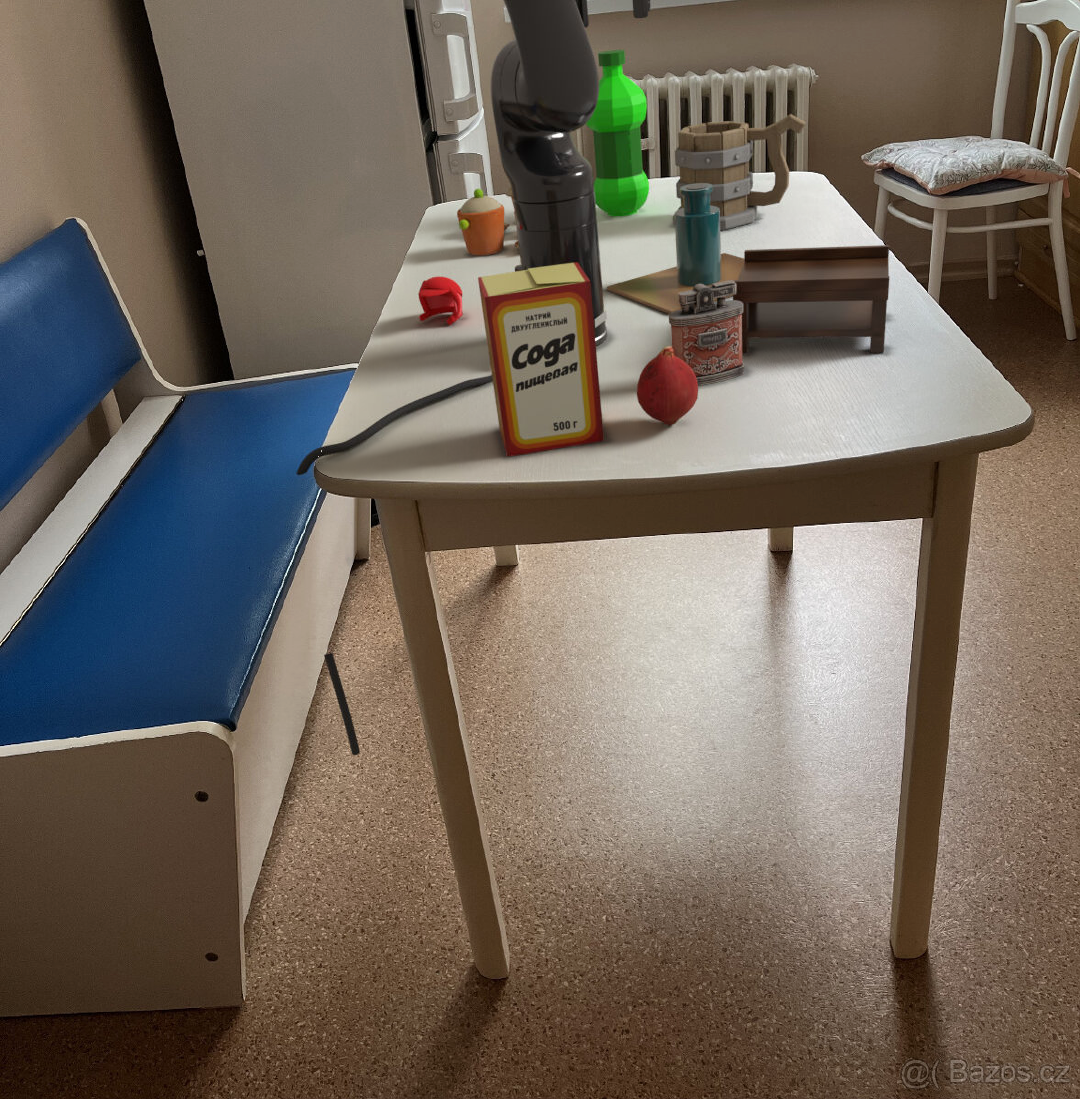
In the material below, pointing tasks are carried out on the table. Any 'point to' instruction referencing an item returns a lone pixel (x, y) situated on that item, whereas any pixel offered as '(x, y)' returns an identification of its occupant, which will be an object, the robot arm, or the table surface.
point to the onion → (667, 387)
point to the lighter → (709, 332)
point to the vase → (698, 237)
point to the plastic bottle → (618, 139)
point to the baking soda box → (543, 357)
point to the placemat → (670, 285)
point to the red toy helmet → (440, 298)
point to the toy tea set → (483, 224)
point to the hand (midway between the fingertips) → (611, 22)
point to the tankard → (732, 165)
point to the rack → (815, 293)
